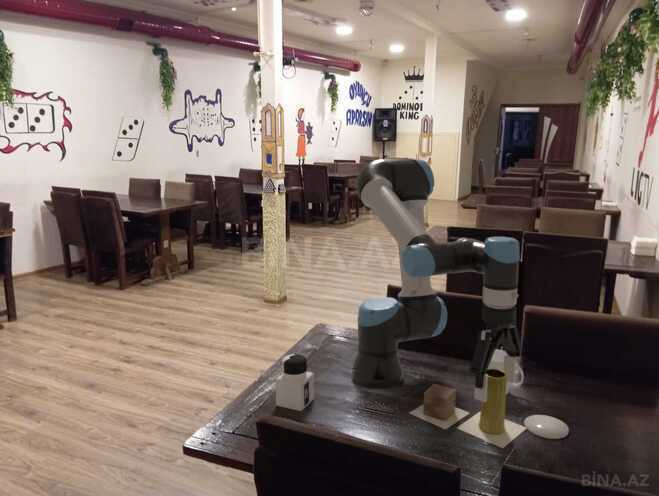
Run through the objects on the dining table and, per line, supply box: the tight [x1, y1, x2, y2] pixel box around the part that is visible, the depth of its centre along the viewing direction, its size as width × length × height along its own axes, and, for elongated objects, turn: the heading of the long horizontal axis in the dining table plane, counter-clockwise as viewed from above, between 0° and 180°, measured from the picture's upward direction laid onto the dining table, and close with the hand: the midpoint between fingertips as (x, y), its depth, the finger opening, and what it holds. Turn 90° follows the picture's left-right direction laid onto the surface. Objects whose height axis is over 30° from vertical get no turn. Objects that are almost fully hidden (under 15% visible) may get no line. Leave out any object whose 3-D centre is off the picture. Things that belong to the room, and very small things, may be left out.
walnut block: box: [423, 383, 457, 421], centre depth 131 cm, size 6×6×6 cm
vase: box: [479, 368, 507, 434], centre depth 123 cm, size 6×6×14 cm
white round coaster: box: [523, 414, 570, 440], centre depth 125 cm, size 10×10×1 cm
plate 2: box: [456, 410, 527, 449], centre depth 125 cm, size 12×12×1 cm
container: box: [275, 353, 315, 412], centre depth 137 cm, size 8×8×13 cm
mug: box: [488, 348, 525, 396], centre depth 142 cm, size 9×12×11 cm
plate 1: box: [409, 403, 470, 430], centre depth 132 cm, size 11×11×1 cm
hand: (495, 390), depth 122 cm, fingers open, 13 cm apart
